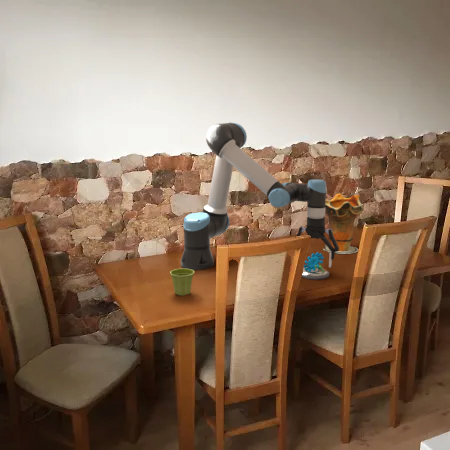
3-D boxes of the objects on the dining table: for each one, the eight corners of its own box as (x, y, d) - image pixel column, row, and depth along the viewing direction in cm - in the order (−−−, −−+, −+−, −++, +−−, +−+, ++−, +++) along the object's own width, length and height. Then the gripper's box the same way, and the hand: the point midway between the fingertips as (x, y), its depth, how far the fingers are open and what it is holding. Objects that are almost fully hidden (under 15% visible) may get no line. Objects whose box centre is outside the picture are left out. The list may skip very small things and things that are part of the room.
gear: (299, 264, 227) (315, 247, 226) (306, 271, 230) (322, 255, 229) (310, 275, 217) (327, 258, 217) (318, 282, 220) (334, 266, 219)
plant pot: (173, 288, 208) (172, 267, 206) (196, 289, 207) (196, 268, 205) (168, 297, 199) (167, 275, 197) (192, 297, 198) (192, 276, 196)
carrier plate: (295, 277, 219) (296, 274, 219) (301, 268, 231) (301, 265, 231) (326, 281, 215) (326, 277, 215) (331, 271, 227) (331, 268, 227)
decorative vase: (314, 252, 254) (317, 196, 249) (324, 243, 275) (327, 191, 270) (357, 257, 246) (361, 199, 241) (364, 247, 267) (367, 193, 262)
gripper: (347, 216, 217) (344, 265, 222) (288, 213, 225) (287, 259, 230) (345, 220, 210) (342, 270, 215) (284, 216, 218) (283, 264, 223)
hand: (314, 265), depth 222 cm, fingers open, 13 cm apart
